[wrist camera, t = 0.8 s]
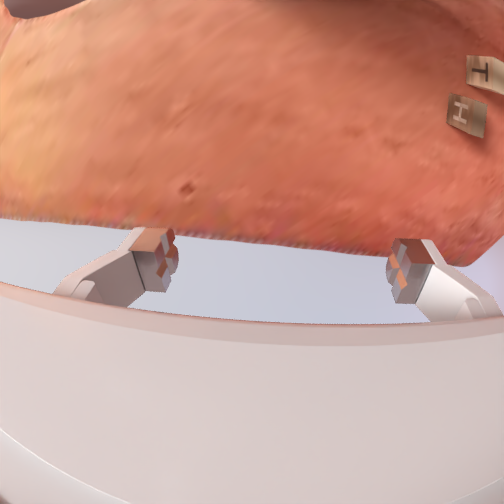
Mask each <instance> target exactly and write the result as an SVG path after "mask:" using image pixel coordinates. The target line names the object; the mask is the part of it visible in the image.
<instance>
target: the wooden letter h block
mask: <svg viewBox="0 0 504 504" xmlns="http://www.w3.org/2000/svg"><path fill="white" fill-rule="evenodd" d="M486 114H487V104H484V103H482V102H479V101H477V100H474V99H471V98H467V97H463V96H460V95H456V94H452V93H449V101H448V112H447V121H446V123H448V124H450V125H452V126H454V127H456V128H458V129H461V130H463V131H465V132H467V133H469V134H471V135H474V136H477V137H480V138H483V136H484V130H485V122H486Z"/></svg>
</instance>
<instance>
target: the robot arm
mask: <svg viewBox="0 0 504 504" xmlns="http://www.w3.org/2000/svg"><path fill="white" fill-rule="evenodd" d="M174 239H175V235H174V231H173V230H172V229H171V228H155V227H135V228H134V229H133V230H132V231H131V232H130V234H129V235H128V236H127V237H126V239H125V240H124V241H123V242H122V244H121V245H120V246H119V247H118V249H117V250H112V251H111V252H109V253H107V254H105V255H103V256H101V257H99V258H97V259H96V260H94V261H92V262H90V263H89V264H87V265H85V266H83V267H81V268H80V269H78V270H76V271H74V272H72V273H71V274H69V275H67V276H66V277H65V278H64V279H63V280H62V282H61V283H60V284H59V286H58V287H57V288H56V290H55V291H54V292H53V294H49V293H44V292H40V291H36V290H31V289H27V288H23V287H19V286H14V285H10V284H6V283H3V282H0V504H504V316H503V314H502V312H501V310H500V308H499V306H498V304H497V303H496V301H495V299H494V297H493V296H491V295H490V294H489V293H488V292H486V291H485V290H483V289H482V288H481V287H480V286H478V285H477V284H476V283H474V282H473V281H472V280H470V279H469V278H468V277H466V276H465V275H463V274H462V273H460V272H459V271H458V270H456V269H455V268H454V267H452V266H451V265H447V264H446V262H445V261H444V259H443V257H442V256H441V254H440V253H439V251H438V249H437V248H436V246H435V245H434V243H433V242H432V241H431V240H429V239H402V238H395V240H394V241H393V244H392V247H391V248H392V250H393V254H392V255H391V256H390V257H389V258H388V261H387V264H386V276H387V280H388V282H389V283H390V284H391V285H392V286H393V287H392V290H391V291H392V294H393V297H394V300H395V303H403V304H415V305H416V306H417V307H418V308H419V309H420V310H421V311H422V313H423V314H424V315H425V316H426V317H427V318H428V319H429V320H430V321H431V322H425V323H402V324H304V323H280V322H260V321H246V320H233V319H221V318H210V317H199V316H189V315H181V314H172V313H164V312H156V311H148V310H141V309H134V308H127V307H128V306H129V305H130V304H131V303H132V302H133V301H135V300H136V299H137V298H139V297H140V296H141V295H142V294H143V293H144V292H145V291H153V292H166V290H167V288H168V286H169V284H170V282H171V277H170V275H172V274H173V273H175V271H176V269H177V266H178V261H179V258H178V250H177V247H176V246H175V245H174V244H173V241H174Z"/></svg>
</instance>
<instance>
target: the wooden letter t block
mask: <svg viewBox="0 0 504 504" xmlns="http://www.w3.org/2000/svg"><path fill="white" fill-rule="evenodd" d="M466 84H469V85H471V86H474V87H476V88H480V89H484V90H488V91H492V92H495V93H499V94H502V95H504V63H503V62H502V61H500V60H498V59H496V58H494V57H488V56H475V55H467V73H466Z"/></svg>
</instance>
